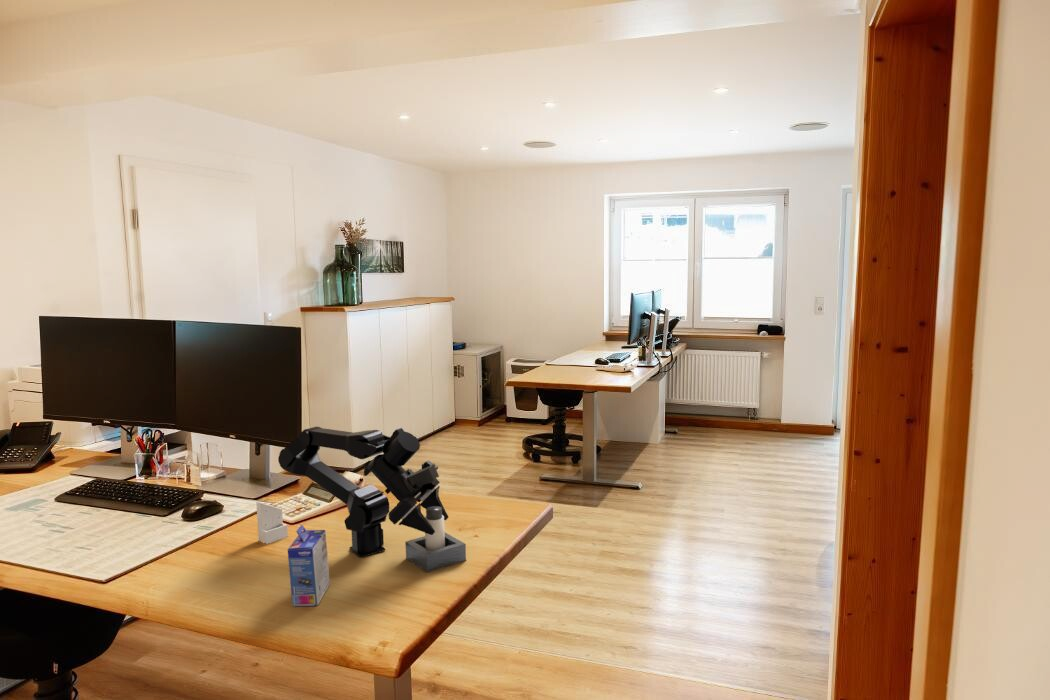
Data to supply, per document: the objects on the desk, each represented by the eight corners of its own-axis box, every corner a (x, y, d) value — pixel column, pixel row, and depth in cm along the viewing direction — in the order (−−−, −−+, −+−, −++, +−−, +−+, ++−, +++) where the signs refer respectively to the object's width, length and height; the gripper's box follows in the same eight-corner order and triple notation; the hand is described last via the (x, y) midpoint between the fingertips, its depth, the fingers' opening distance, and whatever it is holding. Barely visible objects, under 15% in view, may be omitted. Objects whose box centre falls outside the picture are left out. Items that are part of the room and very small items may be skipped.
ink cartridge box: (304, 584, 146) (300, 519, 145) (330, 584, 146) (327, 518, 145) (289, 607, 137) (285, 537, 135) (317, 606, 137) (314, 536, 135)
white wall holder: (241, 536, 167) (256, 501, 170) (274, 545, 175) (288, 511, 177) (249, 540, 165) (264, 504, 168) (283, 548, 173) (296, 514, 175)
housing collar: (427, 572, 151) (427, 555, 151) (406, 558, 159) (405, 541, 159) (465, 560, 157) (465, 543, 157) (443, 547, 165) (442, 531, 165)
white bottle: (426, 564, 156) (424, 513, 154) (425, 556, 160) (423, 506, 159) (446, 562, 157) (444, 511, 155) (444, 554, 161) (442, 504, 160)
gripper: (400, 464, 147) (450, 517, 146) (430, 443, 165) (475, 490, 164) (367, 498, 150) (416, 550, 149) (400, 473, 168) (445, 520, 167)
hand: (440, 526), depth 157 cm, fingers open, 9 cm apart
